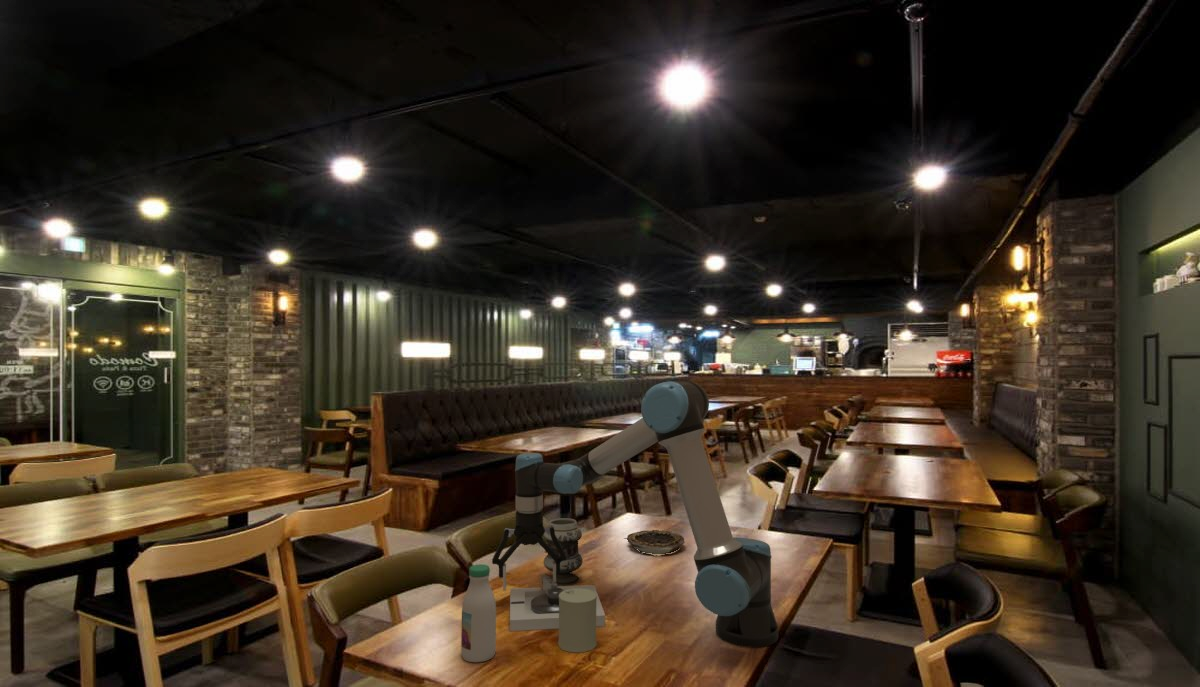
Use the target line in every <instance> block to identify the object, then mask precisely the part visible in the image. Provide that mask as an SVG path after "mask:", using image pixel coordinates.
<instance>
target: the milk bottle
mask: <svg viewBox="0 0 1200 687" xmlns="http://www.w3.org/2000/svg"><path fill="white" fill-rule="evenodd" d="M490 572H491V570H490V566H489V565H488V564H483V563H482V564H474V565H471V566H470V567H469V570H468V574H469V576H468V578H469V584H468V587H467V590H466V591H465V594H464V597H463V599H462V606H461V637H460V638H461V639H460V640H461V643H460V644H461V646H460V647H461V648H460V649H461V650H460V651H461V653H460V654H461V657H462V659H463V660H465V661H466V662H470V663H483V662H486V661H489V660H491V659H492V658H494V656H495V655H496V646H497V644H496V643H497V641H496V640H497V637H496V636H497V606H496V598H495V594H494V592H493V589H492V587H491V584H490V582H489V578H490Z"/></svg>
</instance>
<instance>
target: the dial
mask: <svg viewBox="0 0 1200 687" xmlns="http://www.w3.org/2000/svg"><path fill="white" fill-rule="evenodd" d="M549 576H550V575H548V573H540V574H539V576H538V579H539V581H538V585H539V586H538V587H539V588H540V589H541V590H543V591H544V592H545V593H546V594H542V595H539V596H537V597H535V598H533V599H532V601H531V609H532V610H533V611H534V612H536V613H538V614H549V613H559V594H560V593H561V592H562V591H563V590H562V589H561V588H557V586H558V585H557V583H556V582H555V581H554V580H553V579H551V578H550V577H549Z"/></svg>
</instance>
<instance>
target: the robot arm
mask: <svg viewBox="0 0 1200 687" xmlns="http://www.w3.org/2000/svg"><path fill="white" fill-rule="evenodd" d="M709 400H710V399H709V396H708V393H707V392H706V390H705V389H704V388H703V387H702V386H701V385H700V384H698V383H696V382H694V381H689V380H681V381H679V380H678V381H670V380H669V381H668V380H667V381H663V382H661V383H657V384H655V385H653V386H651V387H650V388H649V389H648V390H647V391H646V392H645V394H644V396H643V398H642V401H641V407H640V410H641V418H639V419H638V420H637V421H636V422H634V423H632V424H631V425H629V426H627V427H626V428H624V429H623V430H621V431H620V432H618V433H617V434H615V435H614V436H612V437H611V438H609V439H607V440H606V441H605V442H603V443H600V445H598V446H596V447H595V448H593V449H592V450H590V451H589V452H587V453H585V454H584V455H582V456H580V457H578V458H577V459H573V460H569V461H564V462H560V463H554V462H553V463H551V462H550V463H549V462H545V461H544V460H543V454H541V453H538V452H537V453H536V452H528V453H527V452H526V453H525V452H524V453H521V454H517V456H516V458H515V469H514V472H515V475H514V476H515V478H514V479H515V510H516V512H515V528H509V527H505V528H504V530H503V531H504V532H503V536H502V539H501V541H500V542H499V545H498V546H497V549H496V550H495V552H494V555H493V557H492V559H491V564H493V565H497V566H498V578H502V591H507V563H506V562H507V561H508V560H509V558H511V556H512V555H513V553H515V551H516V550H517V549H518V548H519V547H520V545H523V546H528V545H532V546H534V545H537V544H539V546H540V547H542V548H543V550H544V551H545V552H546V554H547V555H548V554H549V555H550V556H551V557H552V558H553V560H554V561H553V572H552V575H553V580H554V581H555V582H556V575H557V574H560V562H561V561H565V560H566V559H567V558H566V554H565V552H564V550H563V549H562V547H561V545H560V543H559V541H558V539H557V537H556V535H555V531H554V526H550V527H549V526H547V527H544V511H543V509H544V496H543V495H544V492H551V493H552V492H553V493H559V494H563V495H567V494H569V495H572V494H576V493H579V490H581V488H582V486H586V485H590V484H594V483H595V482H597V481H599V480H601V478H602V477H603V476H604V475H605V474H607V473H608V472H610V471H612V470H613V469H615V468H617V467H619V466H620V465H621V464H623V463H624V462H627V461H628V460H630V459H631V458H633V457H635V456H636V455H638V454H640V453H641V452H644V451H645V450H646V449H648V448H649V447H651V446H652V445H653V446H654V444H656V443H658V444H659V445H660V446H662V447H664V448H665V449H666V450H667V454H668V456H669V460H670V463H671V467H672V470H673V473H674V477H675V480H676V483H677V486H678V489H679V493H680V495H681V500H682V502H683V506H684V509H685V512H686V515H687V519H688V522H689V526H690V528H691V531H692V536H693V538H694V541H695V544H696V548H697V549H696V551H695V553H694V555H693V560H694V563H695V567H696V570H697V574H696V578H695V580H694V591H695V594H696V597H697V599H698V601H699V602H700V604H701V605H702V606H703V607H704V608H705V609H706V610H708V611H709V612H711V613H712V614H714V615H717V617H716V620H715V634H716V636H717V637H718V638H719V639H720V640H723V641H724V642H727V643H729V644H731V645H735V646H739V647H746V648H763V647H764V648H765V647H768V646H772V645H773V644H775V643H777V642H778V640H779V626H778V622H777V620H776V616H775V614H774V610H773V608H772V607H773V606H772V603H771V602H772V600H771V599H772V594H771V593H772V583H771V582H772V554H771V553H772V552H771V546H770V545H769V543H767V542H766V541H764V540H763V541H762V540H759V539H753V538H748V537H733V534H732V531H731V530H732V529H731V528H730V525H729V521H728V517H727V515H726V512H725V508H724V506H723V503H722V499H721V497H720V492H719V490H718V487H717V484H716V481H715V478H714V475H713V471H712V468H711V465H710V462H709V459H708V456H707V455H708V454H707V453H706V449H705V446H704V444H703V441H702V440H703V439H702V436H703V434H704V433H705V430H706V428H705V425H704V423H703V420H704V419H705V418H706V417H707V414H708V412H709V408H710V401H709ZM545 532H546V533H547V534H548V535H551V538H552V540H553V542H554V544H555V546H556V548H557V550H558V552H559V554H560V556H558V555H557V554H556V553H555V552H554V551H553V550H552V549H551V547H550V546H549V545H548V542H546V541H545V538H543V537H544V533H545ZM512 535H514V536H515V537H516V539H515V540H514V541H513V543H512V544H511V545H510V546H509V548H508V549H507V550H506V551H505V553H504V554H503V555H502V556H501V554H502V552H503V550H504V549H505V546H506V544H507V542H508V539H509V538H511V537H512ZM500 557H501V558H500Z"/></svg>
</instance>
